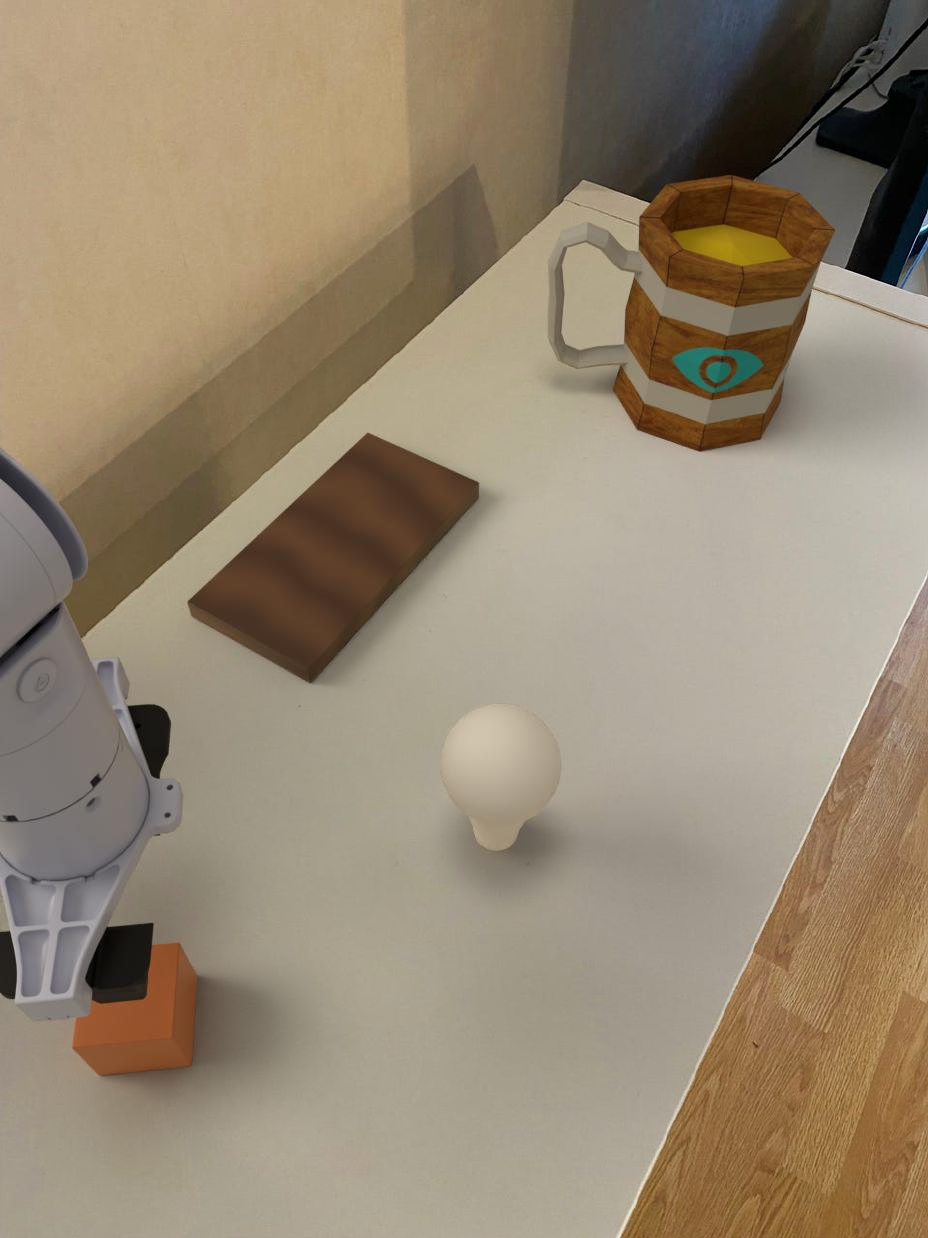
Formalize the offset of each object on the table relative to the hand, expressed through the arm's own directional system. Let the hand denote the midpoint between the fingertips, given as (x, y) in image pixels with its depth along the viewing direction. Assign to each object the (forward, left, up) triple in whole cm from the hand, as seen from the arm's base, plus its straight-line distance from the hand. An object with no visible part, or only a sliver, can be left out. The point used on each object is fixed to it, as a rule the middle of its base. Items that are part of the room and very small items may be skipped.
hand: (131, 908), depth 46 cm
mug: (+36, +44, -9) cm, 57 cm away
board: (+10, +29, -8) cm, 31 cm away
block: (-1, -2, -8) cm, 9 cm away
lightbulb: (+18, +6, -9) cm, 20 cm away
